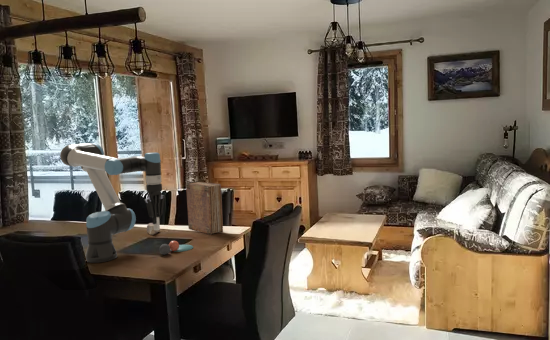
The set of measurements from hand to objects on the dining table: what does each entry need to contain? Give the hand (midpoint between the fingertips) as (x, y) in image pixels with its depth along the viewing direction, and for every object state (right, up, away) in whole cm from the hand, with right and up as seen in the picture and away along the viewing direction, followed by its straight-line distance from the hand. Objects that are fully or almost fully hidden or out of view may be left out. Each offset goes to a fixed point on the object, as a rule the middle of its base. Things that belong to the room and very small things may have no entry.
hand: (156, 229), depth 226 cm
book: (+16, -8, +57) cm, 59 cm away
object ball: (+6, -10, +12) cm, 17 cm away
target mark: (+9, -12, +17) cm, 23 cm away
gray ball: (+3, -11, +6) cm, 13 cm away
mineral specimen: (-17, -10, +55) cm, 58 cm away
